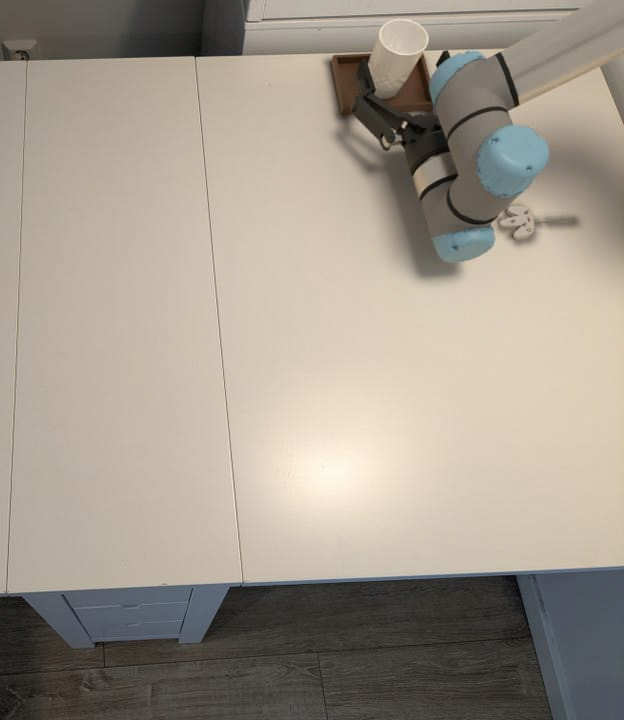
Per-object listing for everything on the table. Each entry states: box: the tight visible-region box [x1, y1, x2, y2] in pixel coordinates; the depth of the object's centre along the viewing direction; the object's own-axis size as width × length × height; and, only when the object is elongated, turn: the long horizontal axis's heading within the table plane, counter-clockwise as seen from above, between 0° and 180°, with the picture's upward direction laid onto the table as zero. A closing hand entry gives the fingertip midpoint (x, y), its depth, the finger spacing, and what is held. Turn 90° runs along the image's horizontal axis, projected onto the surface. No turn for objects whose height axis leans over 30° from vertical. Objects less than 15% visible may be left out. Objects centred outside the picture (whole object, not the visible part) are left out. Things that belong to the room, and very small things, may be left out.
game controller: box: [498, 205, 569, 240], centre depth 90 cm, size 6×12×3 cm, turn 109°
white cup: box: [368, 18, 430, 99], centre depth 95 cm, size 8×8×10 cm
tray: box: [330, 52, 434, 116], centre depth 99 cm, size 12×16×2 cm
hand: (401, 61), depth 92 cm, fingers open, 13 cm apart
